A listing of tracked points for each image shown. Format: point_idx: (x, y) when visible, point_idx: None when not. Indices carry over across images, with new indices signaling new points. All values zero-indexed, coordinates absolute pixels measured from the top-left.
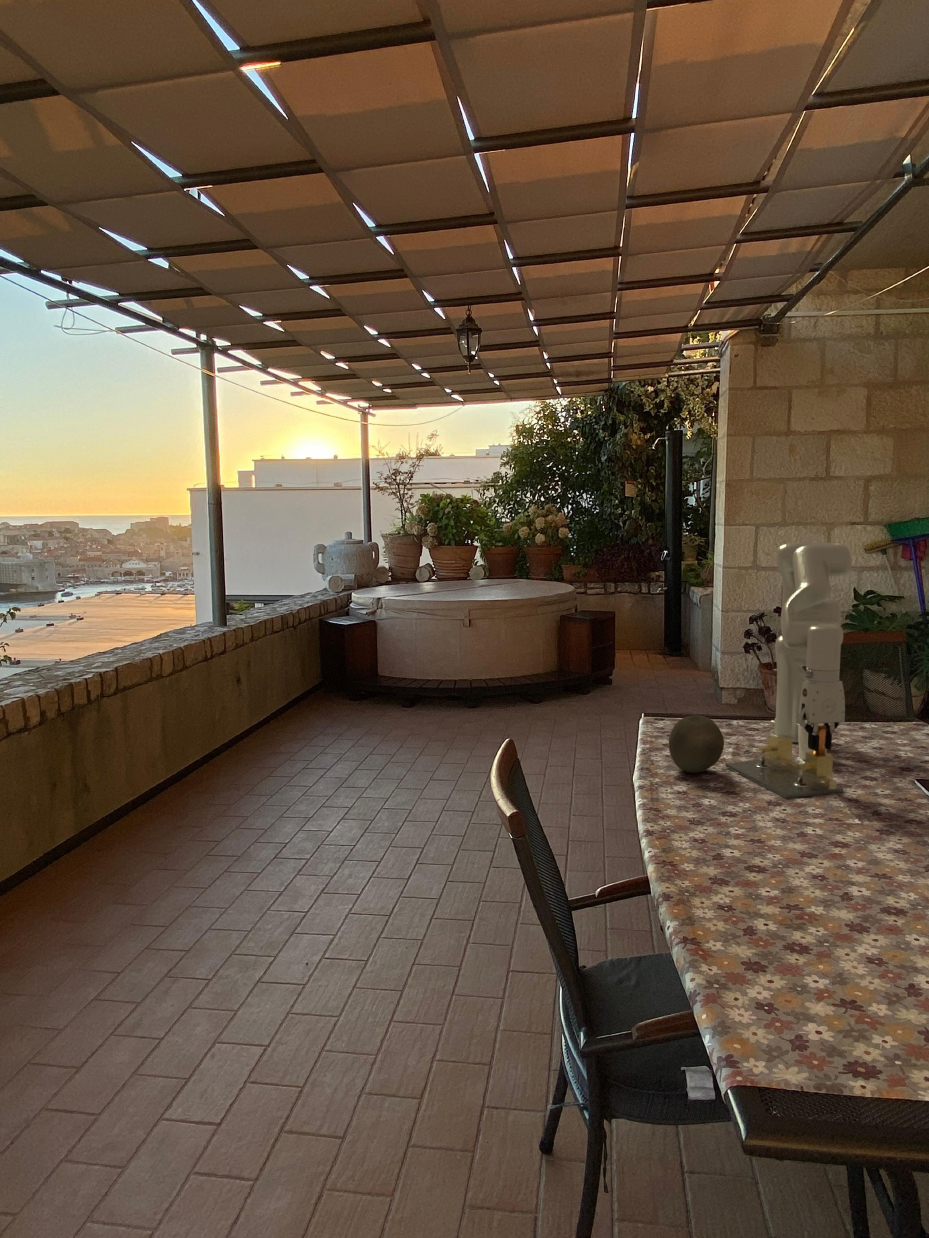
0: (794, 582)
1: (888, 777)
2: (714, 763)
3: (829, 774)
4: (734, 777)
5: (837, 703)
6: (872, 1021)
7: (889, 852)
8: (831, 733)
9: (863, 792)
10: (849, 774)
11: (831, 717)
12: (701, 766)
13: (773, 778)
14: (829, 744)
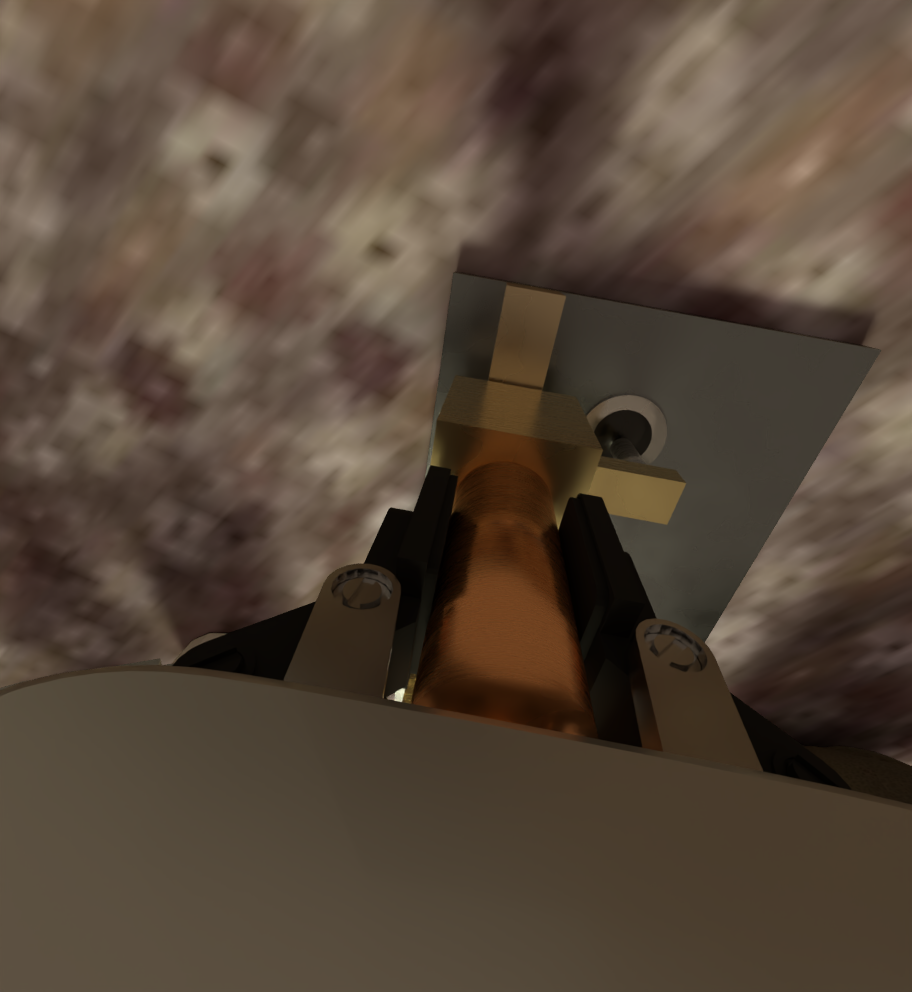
0: None
1: (41, 348)
2: (836, 758)
3: (474, 381)
4: (725, 663)
5: None
6: None
7: None
8: (387, 571)
9: (344, 203)
10: (214, 472)
11: (455, 875)
12: (901, 763)
13: (651, 566)
14: (443, 492)
